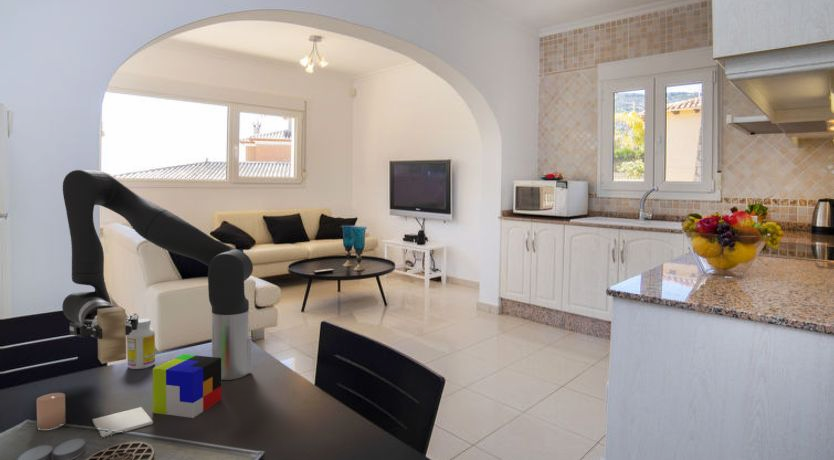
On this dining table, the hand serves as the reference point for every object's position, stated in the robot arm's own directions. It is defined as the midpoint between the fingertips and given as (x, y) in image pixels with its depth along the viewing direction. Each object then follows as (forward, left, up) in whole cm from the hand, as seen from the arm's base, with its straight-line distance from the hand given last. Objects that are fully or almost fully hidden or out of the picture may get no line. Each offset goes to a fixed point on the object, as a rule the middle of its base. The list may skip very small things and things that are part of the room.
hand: (114, 332), depth 103 cm
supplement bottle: (-12, -29, -18) cm, 36 cm away
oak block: (0, -3, -6) cm, 7 cm away
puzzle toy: (-13, +6, -18) cm, 23 cm away
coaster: (0, +6, -18) cm, 19 cm away
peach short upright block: (+11, -2, -18) cm, 21 cm away
